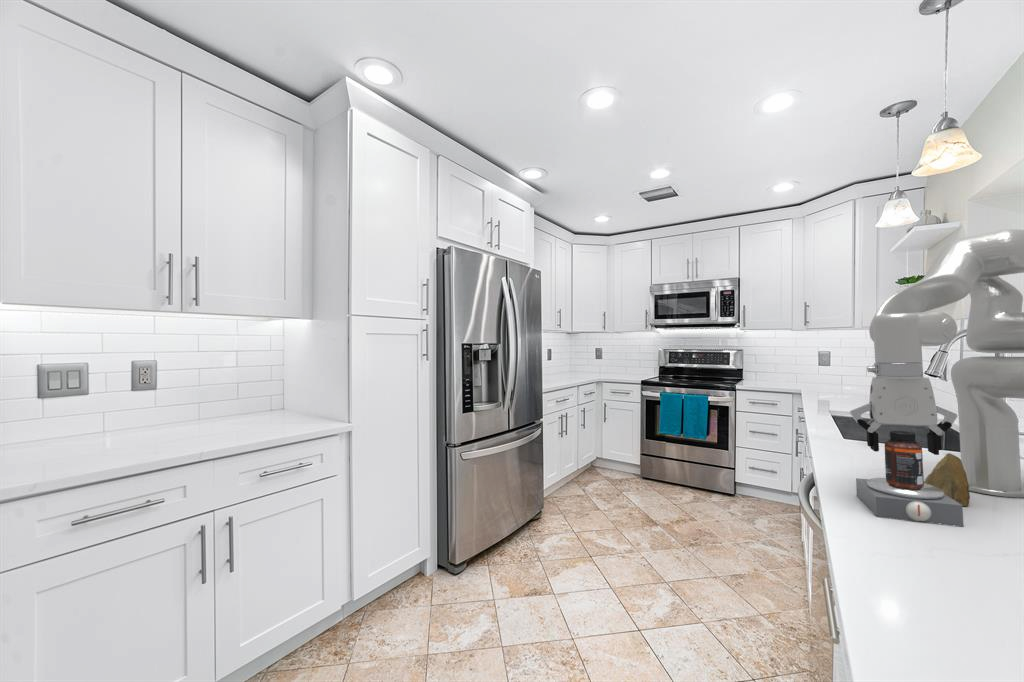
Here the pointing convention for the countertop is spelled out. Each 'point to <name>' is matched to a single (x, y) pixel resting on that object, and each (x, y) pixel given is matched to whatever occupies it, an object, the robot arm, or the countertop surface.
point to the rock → (950, 479)
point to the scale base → (910, 506)
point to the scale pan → (905, 490)
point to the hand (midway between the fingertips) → (903, 451)
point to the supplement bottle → (904, 461)
